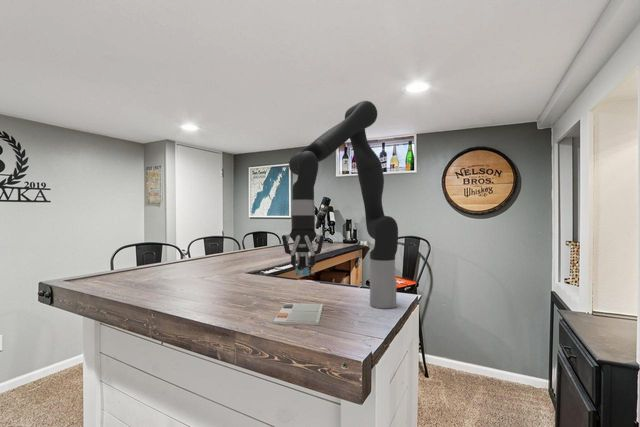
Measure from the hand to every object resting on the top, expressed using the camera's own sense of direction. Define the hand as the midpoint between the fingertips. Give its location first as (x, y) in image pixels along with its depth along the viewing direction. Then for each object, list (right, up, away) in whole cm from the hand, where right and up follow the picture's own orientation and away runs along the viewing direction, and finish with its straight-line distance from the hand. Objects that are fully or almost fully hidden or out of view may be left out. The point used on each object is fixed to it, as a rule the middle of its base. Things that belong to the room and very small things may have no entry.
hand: (303, 266), depth 99 cm
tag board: (-1, -17, +5) cm, 18 cm away
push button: (+1, -3, 0) cm, 3 cm away
